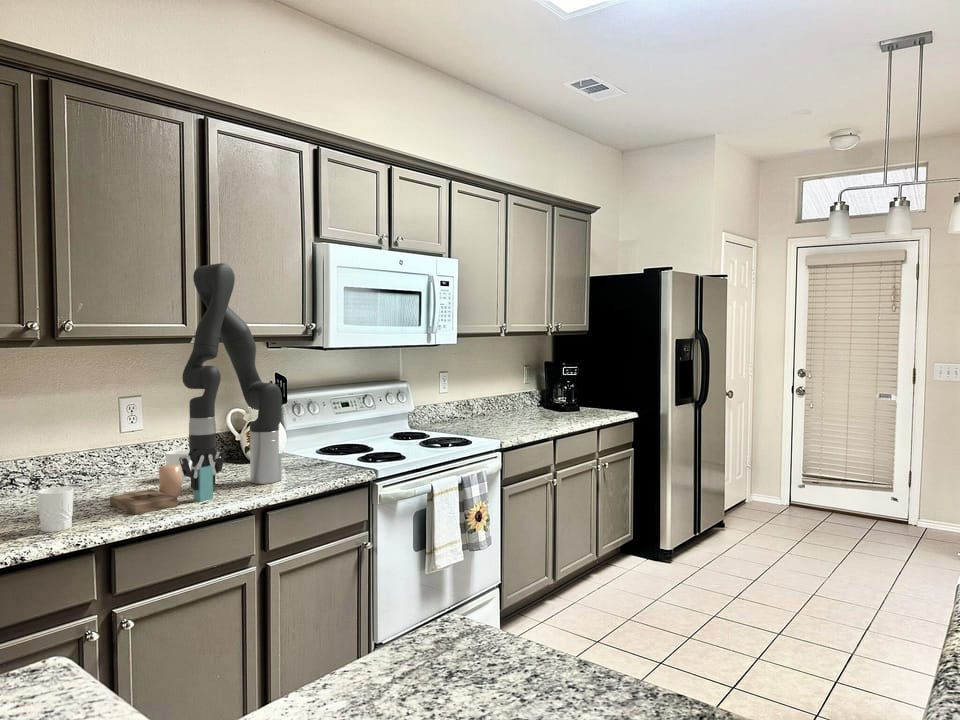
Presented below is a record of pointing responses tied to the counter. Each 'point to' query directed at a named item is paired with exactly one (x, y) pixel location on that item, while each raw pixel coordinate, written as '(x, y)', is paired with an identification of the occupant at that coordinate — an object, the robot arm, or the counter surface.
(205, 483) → the square peg
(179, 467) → the round peg
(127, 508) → the board
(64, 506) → the white cup
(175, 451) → the mug
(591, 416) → the counter surface
